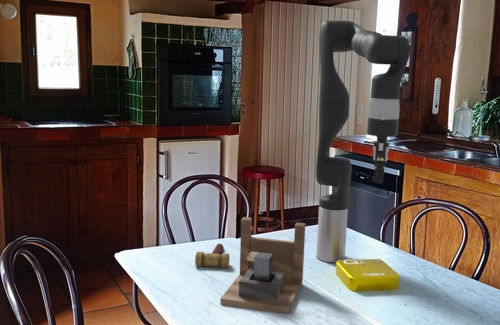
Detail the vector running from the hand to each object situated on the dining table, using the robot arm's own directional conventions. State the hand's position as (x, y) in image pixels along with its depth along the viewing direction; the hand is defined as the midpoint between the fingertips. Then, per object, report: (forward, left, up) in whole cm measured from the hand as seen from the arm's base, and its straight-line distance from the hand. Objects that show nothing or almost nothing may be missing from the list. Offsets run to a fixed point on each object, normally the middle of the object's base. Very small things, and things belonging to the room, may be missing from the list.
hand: (379, 179), depth 136 cm
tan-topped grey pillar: (+7, -28, -31) cm, 43 cm away
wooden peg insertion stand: (+5, -28, -33) cm, 44 cm away
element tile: (-14, -2, -34) cm, 37 cm away
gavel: (-18, -50, -34) cm, 63 cm away
